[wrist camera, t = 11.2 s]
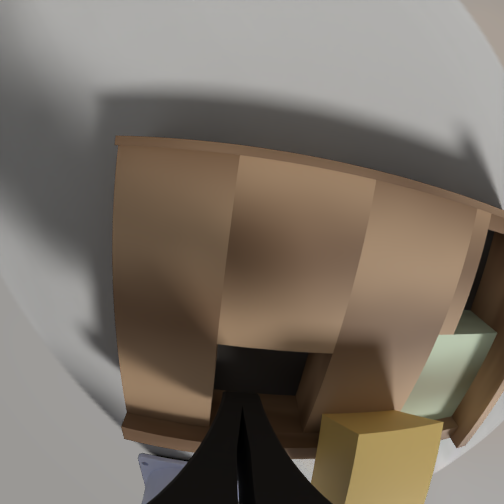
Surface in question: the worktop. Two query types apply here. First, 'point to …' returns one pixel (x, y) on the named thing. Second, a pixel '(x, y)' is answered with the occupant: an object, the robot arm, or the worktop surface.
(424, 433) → the ochre block
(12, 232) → the worktop surface
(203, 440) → the robot arm
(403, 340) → the box
